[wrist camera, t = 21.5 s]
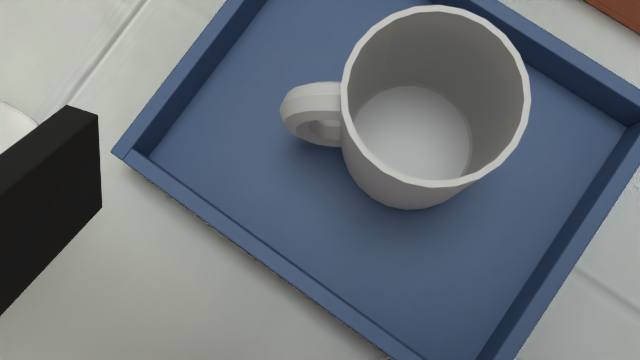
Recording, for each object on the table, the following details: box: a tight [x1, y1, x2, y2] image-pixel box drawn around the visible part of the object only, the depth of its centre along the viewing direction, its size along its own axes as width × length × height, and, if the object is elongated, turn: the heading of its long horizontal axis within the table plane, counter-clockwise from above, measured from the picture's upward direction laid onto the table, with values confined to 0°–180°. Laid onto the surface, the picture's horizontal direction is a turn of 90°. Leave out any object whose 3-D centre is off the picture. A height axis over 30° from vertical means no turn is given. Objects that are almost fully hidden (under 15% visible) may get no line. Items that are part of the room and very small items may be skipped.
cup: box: [279, 5, 531, 210], centre depth 26 cm, size 7×10×9 cm
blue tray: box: [111, 0, 640, 360], centre depth 30 cm, size 22×18×3 cm
